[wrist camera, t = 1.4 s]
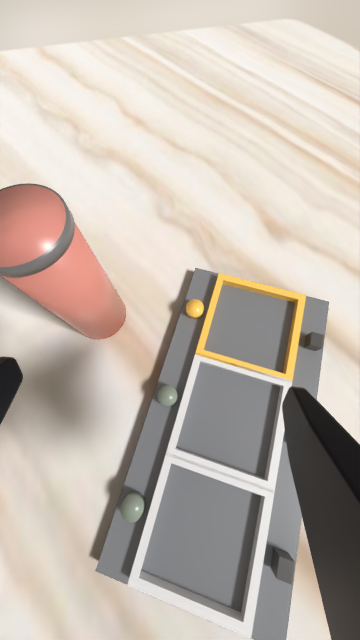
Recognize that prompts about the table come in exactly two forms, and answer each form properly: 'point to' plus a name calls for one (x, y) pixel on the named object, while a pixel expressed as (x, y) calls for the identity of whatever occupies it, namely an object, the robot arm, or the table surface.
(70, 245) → the reddish brown cylinder
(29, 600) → the table surface
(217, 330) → the breaker panel
